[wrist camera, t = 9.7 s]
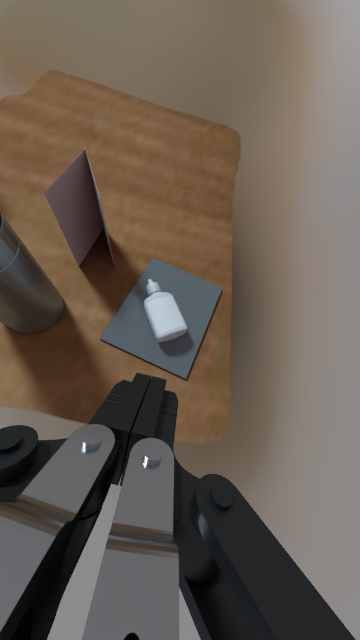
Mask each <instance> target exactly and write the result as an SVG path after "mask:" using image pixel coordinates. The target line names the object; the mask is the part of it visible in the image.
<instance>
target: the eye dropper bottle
mask: <svg viewBox="0 0 360 640" xmlns="http://www.w3.org/2000/svg"><path fill="white" fill-rule="evenodd" d="M146 290H147V292H148V295H149V297H148V298H147V299H145V301H144V309H145V312H146V314H147V317H148V320H149V322H150V325H151V327H152V330H153V333H154V335H155V338H156V340H157V341H158V342H164V341H168V340H171V339H174V338H177V337H179V336H181V335H183V334H185V333H186V331H187V329H188V328H187V325H186V323H185V321H184V319H183V316H182V314H181V312H180V310H179V308H178V305H177V303H176V301H175V299H174V297H173V295H172V294H170V293H166V292H161V289H160V287H159V285H158V283H156V282H153V281H152V280H151V279H149V280H148V285H147V286H146Z"/></svg>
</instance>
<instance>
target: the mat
mask: <svg viewBox="0 0 360 640" xmlns="http://www.w3.org/2000/svg"><path fill="white" fill-rule="evenodd" d="M149 279H151V280H152V281H153V282H156V283H158V285H159V287H160V289H161V292H166V293H170V294H172V295H173V297H174V299H175V301H176V303H177V305H178V308H179V310H180V312H181V314H182V316H183V319H184V321H185V323H186V325H187V328H188V329H187V331H186V333H185V334H183V335H181V336H179V337H177V338H174V339H171V340H168V341H164V342H158V341H157V340H156V338H155V335H154V333H153V330H152V327H151V325H150V322H149V320H148V317H147V314H146V312H145V309H144V301H145V299H147V298H148V297H149V295H148V292H147V290H146V286H147V285H148V280H149ZM221 291H222V289H221V288H219V287H217V286H215V285H213V284H210V283H208V282H206V281H204V280H201V279H199V278H197V277H195V276H193V275H190V274H188V273H186V272H184V271H181V270H179V269H177V268H175V267H172V266H170V265H168V264H166V263H164V262H161V261H159V260H157V259H155V258H152V260H151V261H150V263H149V264H148V266H147V267H146V269H145V270H144V272H143V273H142V275H141V276H140V278H139V279H138V281H137V282H136V284H135V285H134V287H133V288H132V290H131V292H130V293H129V295H128V296H127V298H126V299H125V301H124V302H123V304H122V305H121V307H120V308H119V310H118V311H117V313H116V314H115V316H114V317H113V319H112V320H111V322H110V323H109V325H108V327H107V328H106V330H105V331H104V333H103V334H102V336H101V337H100V339H101V340H103V341H105V342H107V343H109V344H112V345H114V346H116V347H118V348H120V349H122V350H124V351H126V352H129V353H131V354H133V355H135V356H137V357H139V358H141V359H143V360H146V361H148V362H150V363H152V364H154V365H156V366H158V367H161V368H163V369H165V370H167V371H169V372H171V373H173V374H175V375H178V376H180V377H182V378H184V379H186V378H187V375H188V373H189V370H190V368H191V365H192V363H193V360H194V358H195V355H196V353H197V350H198V348H199V345H200V343H201V340H202V338H203V335H204V333H205V330H206V328H207V325H208V323H209V320H210V318H211V315H212V313H213V310H214V308H215V305H216V303H217V300H218V298H219V296H220V293H221Z"/></svg>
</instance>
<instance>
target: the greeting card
mask: <svg viewBox="0 0 360 640" xmlns="http://www.w3.org/2000/svg"><path fill="white" fill-rule="evenodd" d="M45 195H46V197H47V199H48V201H49V203H50V205H51V208H52V210H53V212H54V214H55V216H56V218H57V221H58V223H59V225H60V227H61V229H62V231H63V234H64V236H65V238H66V240H67V242H68V244H69V247H70V249H71V251H72V253H73V255H74V257H75V260H76V262H77V264H78V266H80V264H81V263H82V261H83V260H84V258H85V256H86V255H87V253H88V252H89V250H90V249H91V247H92V245H93V244H94V242H95V241H96V239H97V237H98V236H99V234H100V233H101V231H102V229H103V228H104V232H105V235H106V239H107V242H108V246H109V249H110V253H111V256H112V251H111V246H110V242H109V237H108V232H107V228H106V223H105V218H104V214H103V209H102V204H101V199H100V196H99V192H98V189H97V186H96V182H95V179H94V176H93V172H92V169H91V166H90V162H89V159H88V156H87V152H86V149H84V150H83V151H82V152H81V153H80V154H79V155H78V156H77V157H76V158H75V160H74V161H73V162H72V163H71V164H70V165H69V166H68V167H67V168H66V169H65V170H64V171H63V173H62V174H61V175H60V176H59V177H58V178H57V179H56V180H55V181H54V182H53V183H52V184H51V186H50V187H49V188H48V189H47V190H46V191H45ZM112 260H113V256H112ZM113 263H114V261H113ZM114 267H115V265H114Z"/></svg>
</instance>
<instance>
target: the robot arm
mask: <svg viewBox="0 0 360 640" xmlns="http://www.w3.org/2000/svg"><path fill="white" fill-rule="evenodd" d="M63 309H64V301H63V298H62V296H61V295H60V293H59V292H58V290H57V289H56V288H55V286H54V285H53V283H52V282H51V281H50V279H49V278H48V277H47V275H46V274H45V272H44V271H43V270H42V268H41V267H40V265H39V264H38V263H37V261H36V260H35V259H34V257H33V256H32V254H31V253H30V252H29V250H28V249H27V248H26V246H25V245H24V243H23V242H22V241H21V239H20V238H19V237H18V235H17V234H16V232H15V231H14V230H13V229H12V227H11V226H10V224H9V223H8V222H7V220H6V219H5V218H4V216H3V215H2V213H1V212H0V322H1V323H3V324H5V325H6V326H8V327H9V328H11V329H13V330H15V331H17V332H21V333H37V332H40V331H43V330H45V329H47V328H49V327H51V326H52V325H53V324H55V323H56V321H57V320H58V319H59V318H60V316H61V315H62V312H63ZM151 377H152V376H150V375H146V374H142V373H138V372H137V373H136V375H135V377H134V379H133V381H132V382H130V381H126V380H122V381H121V382H119V383H117V384H116V385H115V386H114V387H113V389H112V390H111V392H110V394H109V395H108V396H107V398H106V400H105V401H104V402H103V404H102V405H101V406H100V408H99V409H98V411H97V412H96V414H95V415H94V417H93V418H92V420H91V421H90V423H89V424H88V425H86V426H83V427H81V428H79V429H77V430H76V431H74V432H73V433H72V434H71V435H70V437H69V438H66V439H60V440H40V441H39V440H38V434H37V432H36V431H35V430H34V429H33V428H31V427H28V426H24V425H17V426H9V427H5V428H2V429H0V640H47V637H48V635H49V633H50V629H51V627H52V625H53V622H54V619H55V616H56V613H57V610H58V607H59V604H60V601H61V599H62V596H63V593H64V591H65V589H66V587H67V584H68V582H69V580H70V578H71V575H72V573H73V571H74V569H75V567H76V564H77V562H78V560H79V558H80V556H81V553H82V551H83V549H84V547H85V545H86V543H87V540H88V538H89V536H90V534H91V531H92V529H93V527H94V525H95V523H96V520H97V518H98V516H99V514H100V512H101V509H102V505H103V502H104V500H105V498H106V496H107V493H108V491H109V488H110V485H111V484H115V485H118V483H119V481H120V478H121V475H122V478H121V483H120V486H122V488H121V492H120V495H119V499H118V503H117V507H116V511H115V515H114V519H113V523H112V527H111V531H110V533H109V537H108V541H107V544H106V548H105V552H104V555H103V559H102V563H101V567H100V571H99V575H98V579H97V583H96V587H95V591H94V595H93V598H92V602H91V606H90V611H89V614H88V618H87V622H86V626H85V630H84V634H83V637H82V640H179V587H180V589H181V592H182V594H183V597H184V599H185V601H186V604H187V607H188V609H189V611H190V614H191V616H192V619H193V621H194V624H195V626H196V629H197V631H198V634H199V636H200V638H201V640H355V639H354V637H353V636H352V635H351V634H350V632H349V631H348V630H347V628H346V627H345V626H344V624H343V623H342V622H341V621H340V619H338V617H337V616H336V615H335V613H334V612H333V610H332V609H331V608H330V607H329V605H328V604H327V603H326V602H325V600H324V599H323V598H322V596H321V595H320V594H319V593H318V591H317V590H316V589H315V588H314V586H313V585H312V584H311V582H310V581H309V580H308V579H307V577H306V576H305V575H304V573H303V572H302V571H301V570H300V568H299V567H298V566H297V565H296V563H295V562H294V561H293V559H292V558H291V557H290V556H289V554H288V553H287V552H286V551H285V549H284V548H283V547H282V545H281V544H280V543H279V542H278V540H277V539H276V538H275V537H274V535H273V534H272V533H271V531H270V530H269V529H268V528H267V526H266V525H265V524H264V522H263V521H262V520H261V519H260V517H259V516H258V515H257V514H256V512H255V511H254V510H253V509H252V507H251V506H250V505H249V503H248V502H247V501H246V500H245V498H244V497H243V496H242V494H241V493H240V492H239V491H238V489H237V488H236V487H235V486H234V485H233V484H232V483H231V482H230V481H229V480H228V479H226V478H225V477H223V476H220V475H217V474H208V475H205V476H203V477H202V478H201V479H199V478H197V477H195V476H194V475H192V474H191V473H189V472H188V471H186V470H185V469H184V468H183V467H182V466H181V465H180V464H179V463H178V461H177V460H176V458H175V455H174V451H173V444H174V436H175V427H176V417H177V409H178V399H177V396H176V394H175V393H174V392H170V391H166V390H165V385H166V381H167V380H166V379H162V378H158V377H154V376H153V377H152V379H151ZM122 472H123V473H122Z"/></svg>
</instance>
